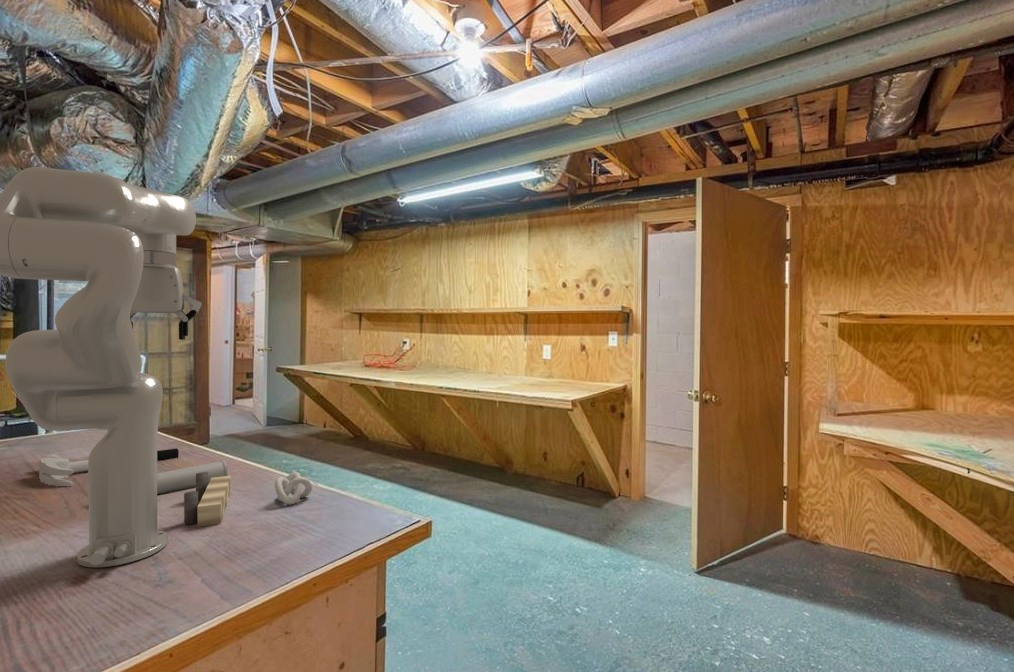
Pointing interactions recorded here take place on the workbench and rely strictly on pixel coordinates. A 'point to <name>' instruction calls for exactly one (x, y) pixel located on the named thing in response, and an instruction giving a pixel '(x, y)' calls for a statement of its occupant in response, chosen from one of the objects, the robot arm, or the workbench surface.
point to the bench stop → (207, 500)
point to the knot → (292, 488)
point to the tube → (188, 476)
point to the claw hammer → (77, 467)
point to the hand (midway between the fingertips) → (156, 339)
